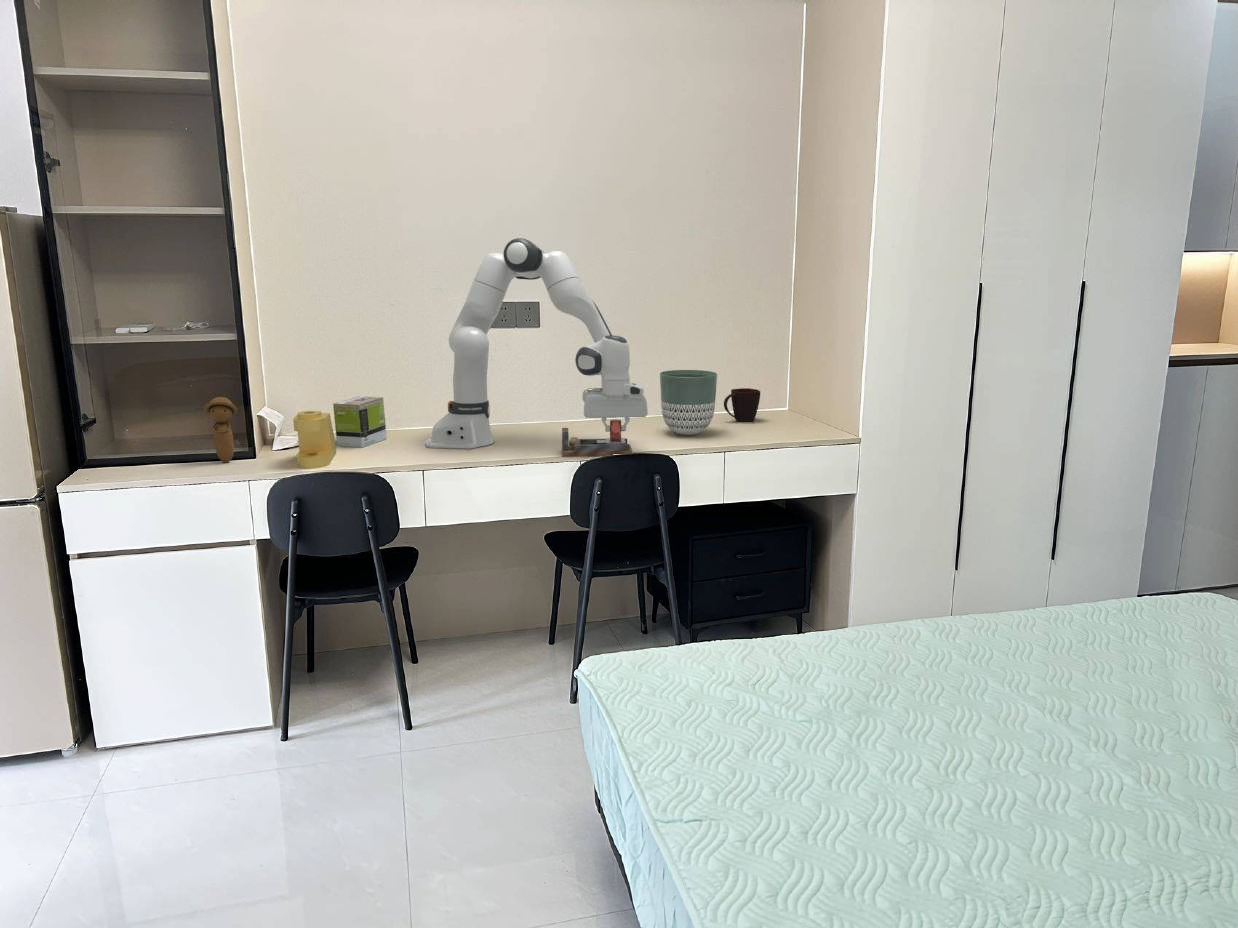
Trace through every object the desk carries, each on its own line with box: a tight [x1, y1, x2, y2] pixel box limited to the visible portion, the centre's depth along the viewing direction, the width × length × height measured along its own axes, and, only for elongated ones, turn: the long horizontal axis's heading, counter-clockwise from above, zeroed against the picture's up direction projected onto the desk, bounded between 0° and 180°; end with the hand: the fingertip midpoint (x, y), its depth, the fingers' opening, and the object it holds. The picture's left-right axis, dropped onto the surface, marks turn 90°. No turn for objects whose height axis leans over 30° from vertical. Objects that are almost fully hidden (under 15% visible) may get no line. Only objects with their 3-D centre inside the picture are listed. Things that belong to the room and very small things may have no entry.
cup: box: [723, 387, 761, 423], centre depth 330 cm, size 10×14×12 cm
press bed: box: [561, 427, 634, 458], centre depth 280 cm, size 22×10×8 cm, turn 94°
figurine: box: [203, 396, 238, 463], centre depth 265 cm, size 9×7×20 cm
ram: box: [597, 418, 626, 445], centre depth 279 cm, size 9×7×9 cm
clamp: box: [292, 410, 337, 470], centre depth 268 cm, size 20×9×16 cm, turn 10°
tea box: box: [332, 396, 387, 449], centre depth 293 cm, size 15×10×15 cm
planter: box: [659, 369, 718, 436], centre depth 307 cm, size 20×20×21 cm
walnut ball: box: [569, 436, 580, 446], centre depth 279 cm, size 4×4×4 cm
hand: (615, 431), depth 279 cm, fingers closed on ram, 4 cm apart
